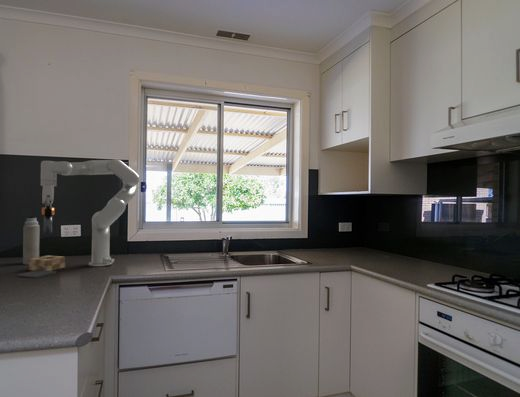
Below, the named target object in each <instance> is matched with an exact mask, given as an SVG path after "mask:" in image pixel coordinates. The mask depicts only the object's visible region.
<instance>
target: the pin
mask: <svg viewBox="0 0 520 397" xmlns="http://www.w3.org/2000/svg"><path fill="white" fill-rule="evenodd" d="M51 209H52V216H45V207H41V215H42V216H43V234H53V216H55V207H53V206H51Z"/></svg>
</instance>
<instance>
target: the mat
mask: <svg viewBox="0 0 520 397" xmlns="http://www.w3.org/2000/svg"><path fill="white" fill-rule="evenodd" d="M54 274H57V271H56V270H52V271H44V270H35V271H33V270H30V271H28V272H24V273H19V274H16V277H19V278H29V279H39V278H42V277H46V276H50V275H54Z"/></svg>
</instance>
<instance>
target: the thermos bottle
mask: <svg viewBox="0 0 520 397" xmlns="http://www.w3.org/2000/svg"><path fill="white" fill-rule="evenodd" d="M40 228H41V227H40V224H39V221H37V215H35V216H34V215H28V216H26V221H25V222H24V225H23V233H22V234H23V235H22V236H23V237H22V238H23V239H22V241H23V243H22V264H23V265H29V259H32V258H37V257H40V230H41V229H40Z"/></svg>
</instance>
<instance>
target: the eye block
mask: <svg viewBox="0 0 520 397" xmlns="http://www.w3.org/2000/svg"><path fill="white" fill-rule="evenodd" d="M64 268H66V256H63V255H62V256H60V255H43V256H39V257H37V258H32V259H29V264H28V271H35V270H44V271H56V270H59V269H64Z"/></svg>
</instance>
